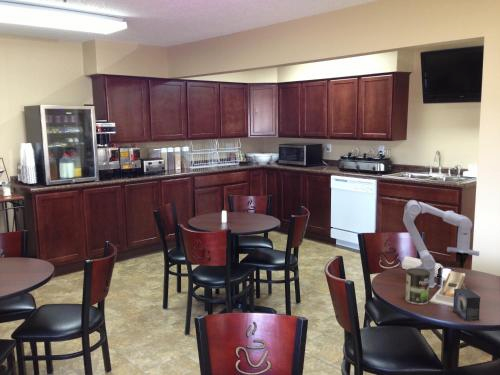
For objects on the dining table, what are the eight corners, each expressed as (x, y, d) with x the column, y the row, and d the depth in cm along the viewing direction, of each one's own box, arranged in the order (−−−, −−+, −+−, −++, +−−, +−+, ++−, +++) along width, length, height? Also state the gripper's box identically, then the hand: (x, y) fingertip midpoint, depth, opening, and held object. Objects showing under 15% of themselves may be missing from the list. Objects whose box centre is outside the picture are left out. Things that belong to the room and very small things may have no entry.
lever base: (429, 302, 213) (430, 290, 212) (442, 286, 233) (443, 275, 232) (459, 308, 205) (460, 296, 204) (470, 292, 225) (471, 280, 224)
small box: (451, 310, 203) (453, 288, 202) (465, 310, 204) (467, 287, 202) (464, 321, 193) (466, 297, 191) (479, 320, 193) (481, 296, 192)
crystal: (397, 262, 260) (438, 272, 243) (403, 254, 264) (444, 263, 247) (400, 272, 264) (441, 282, 246) (406, 263, 268) (446, 273, 250)
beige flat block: (435, 299, 214) (436, 294, 214) (440, 294, 220) (440, 289, 220) (456, 303, 209) (456, 298, 209) (460, 298, 215) (460, 293, 215)
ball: (446, 292, 217) (445, 298, 216) (445, 290, 215) (444, 296, 214) (453, 293, 215) (451, 299, 214) (452, 291, 213) (450, 297, 212)
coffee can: (433, 302, 213) (435, 272, 211) (417, 306, 208) (418, 276, 206) (416, 294, 222) (417, 266, 220) (400, 298, 217) (401, 269, 215)
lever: (441, 298, 219) (441, 289, 217) (450, 277, 231) (450, 269, 229) (457, 301, 215) (457, 293, 213) (465, 280, 227) (465, 272, 225)
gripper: (446, 240, 229) (444, 266, 231) (478, 245, 221) (476, 272, 223) (449, 237, 235) (447, 263, 237) (480, 241, 227) (478, 268, 228)
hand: (461, 267), depth 230 cm, fingers closed
